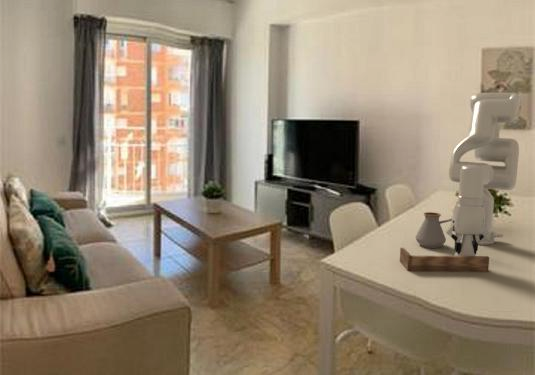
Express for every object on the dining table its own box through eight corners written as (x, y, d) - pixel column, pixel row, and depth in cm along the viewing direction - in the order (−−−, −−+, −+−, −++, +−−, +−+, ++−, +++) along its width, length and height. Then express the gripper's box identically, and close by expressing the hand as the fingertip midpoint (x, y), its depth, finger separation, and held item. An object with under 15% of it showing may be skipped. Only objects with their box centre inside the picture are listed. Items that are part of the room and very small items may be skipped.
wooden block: (475, 261, 168) (476, 248, 167) (488, 271, 158) (489, 257, 157) (399, 261, 168) (400, 247, 167) (407, 270, 158) (408, 256, 157)
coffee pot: (410, 246, 186) (413, 209, 184) (420, 239, 195) (422, 204, 193) (467, 256, 174) (470, 217, 171) (475, 249, 183) (478, 211, 180)
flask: (475, 255, 166) (478, 228, 164) (477, 262, 159) (480, 233, 157) (453, 253, 168) (455, 226, 166) (454, 259, 161) (456, 231, 160)
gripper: (489, 199, 164) (485, 249, 167) (441, 199, 164) (437, 249, 167) (500, 204, 156) (495, 256, 160) (449, 203, 156) (445, 256, 160)
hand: (465, 252), depth 163 cm, fingers closed on flask, 4 cm apart
